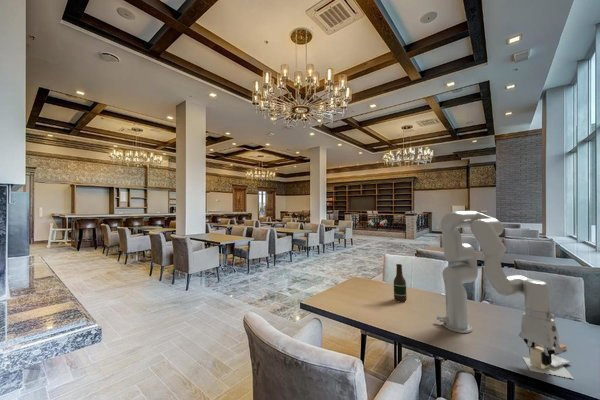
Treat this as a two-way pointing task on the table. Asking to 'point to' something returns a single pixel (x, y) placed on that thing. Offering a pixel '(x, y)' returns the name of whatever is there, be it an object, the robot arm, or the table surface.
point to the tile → (554, 347)
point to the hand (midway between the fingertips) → (540, 361)
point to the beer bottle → (399, 285)
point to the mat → (549, 369)
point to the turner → (537, 358)
